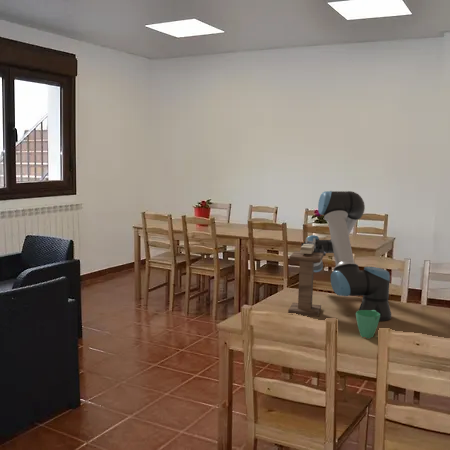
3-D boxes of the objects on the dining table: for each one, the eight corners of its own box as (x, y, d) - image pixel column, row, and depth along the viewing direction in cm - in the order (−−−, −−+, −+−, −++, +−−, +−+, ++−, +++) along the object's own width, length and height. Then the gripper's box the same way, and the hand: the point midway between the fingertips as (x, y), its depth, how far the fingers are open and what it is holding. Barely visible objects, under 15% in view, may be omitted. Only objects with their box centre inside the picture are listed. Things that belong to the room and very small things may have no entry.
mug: (375, 341, 224) (376, 318, 223) (351, 337, 229) (352, 314, 228) (384, 332, 236) (386, 309, 235) (362, 328, 241) (363, 306, 240)
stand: (317, 317, 256) (320, 258, 253) (287, 314, 260) (289, 256, 257) (321, 308, 272) (323, 252, 268) (293, 306, 275) (295, 250, 272)
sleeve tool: (311, 254, 258) (311, 247, 257) (300, 253, 259) (301, 246, 259) (316, 247, 279) (317, 241, 278) (306, 246, 280) (307, 240, 280)
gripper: (328, 264, 289) (326, 248, 268) (298, 262, 293) (293, 246, 272) (330, 251, 292) (327, 234, 271) (299, 249, 296) (294, 232, 275)
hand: (310, 240), depth 272 cm, fingers closed on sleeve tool, 3 cm apart
